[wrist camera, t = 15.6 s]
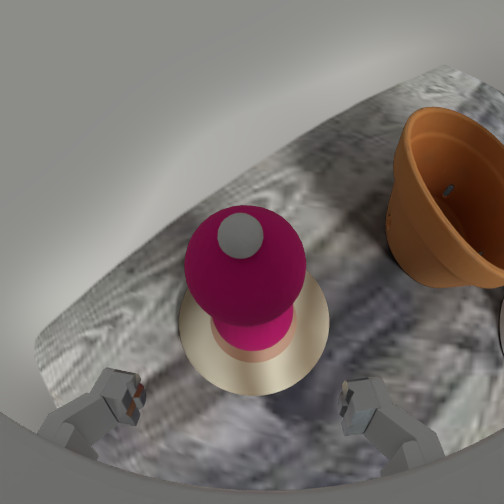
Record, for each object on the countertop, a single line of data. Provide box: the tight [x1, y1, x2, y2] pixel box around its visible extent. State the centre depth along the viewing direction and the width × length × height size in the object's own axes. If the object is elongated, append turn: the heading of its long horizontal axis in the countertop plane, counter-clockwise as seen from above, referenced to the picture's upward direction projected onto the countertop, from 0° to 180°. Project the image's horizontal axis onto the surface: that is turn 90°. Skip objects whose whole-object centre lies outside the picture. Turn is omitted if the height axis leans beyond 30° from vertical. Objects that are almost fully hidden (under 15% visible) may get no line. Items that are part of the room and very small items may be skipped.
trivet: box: [179, 270, 329, 396], centre depth 29 cm, size 16×16×1 cm
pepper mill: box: [184, 205, 306, 351], centre depth 19 cm, size 7×7×20 cm
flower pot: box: [385, 107, 504, 288], centre depth 26 cm, size 21×21×15 cm
